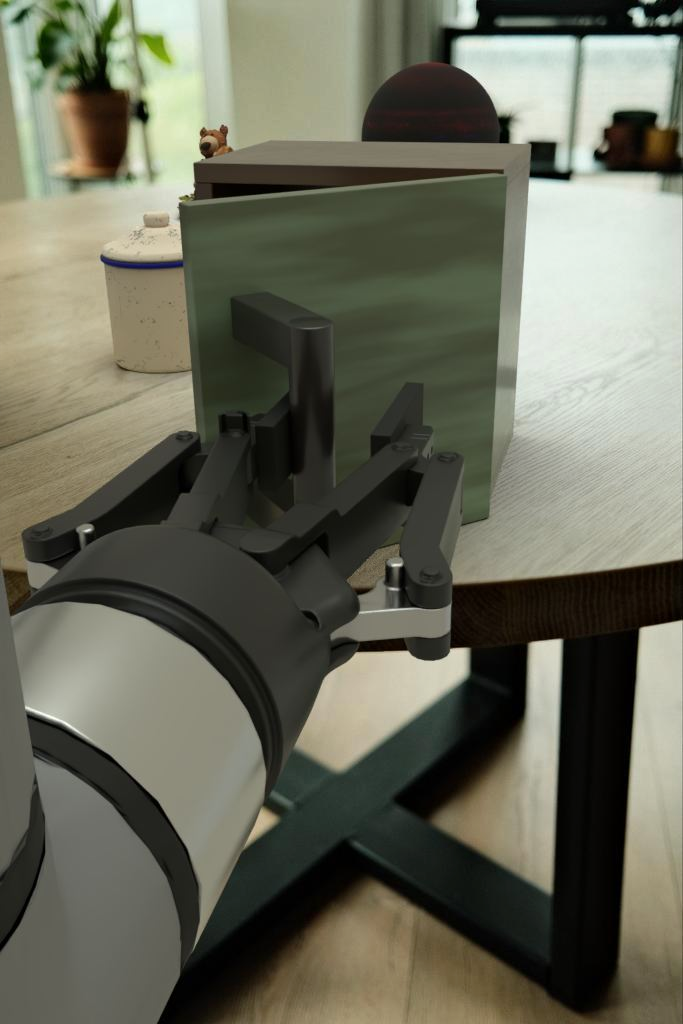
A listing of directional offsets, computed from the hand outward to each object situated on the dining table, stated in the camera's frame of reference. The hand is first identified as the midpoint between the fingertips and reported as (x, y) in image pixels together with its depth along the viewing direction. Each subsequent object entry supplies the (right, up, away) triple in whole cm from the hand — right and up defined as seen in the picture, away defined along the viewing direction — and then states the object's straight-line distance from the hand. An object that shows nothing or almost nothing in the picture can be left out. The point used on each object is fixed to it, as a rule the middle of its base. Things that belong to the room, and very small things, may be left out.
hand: (363, 409), depth 44 cm
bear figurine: (-18, +39, +105) cm, 113 cm away
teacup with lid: (-15, +8, +40) cm, 44 cm away
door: (+1, -8, +5) cm, 9 cm away
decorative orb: (+12, +41, +108) cm, 116 cm away
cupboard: (+1, -1, +19) cm, 19 cm away
